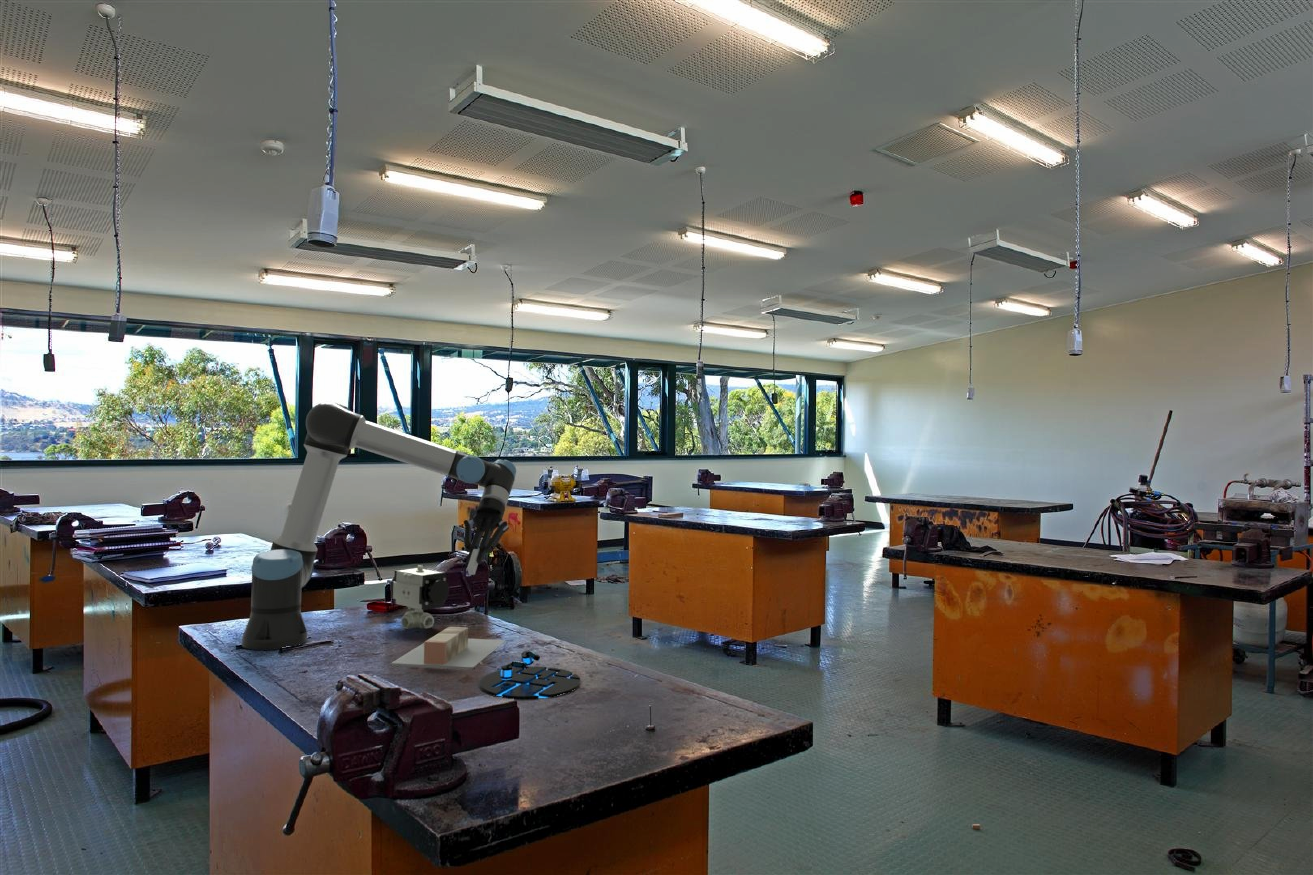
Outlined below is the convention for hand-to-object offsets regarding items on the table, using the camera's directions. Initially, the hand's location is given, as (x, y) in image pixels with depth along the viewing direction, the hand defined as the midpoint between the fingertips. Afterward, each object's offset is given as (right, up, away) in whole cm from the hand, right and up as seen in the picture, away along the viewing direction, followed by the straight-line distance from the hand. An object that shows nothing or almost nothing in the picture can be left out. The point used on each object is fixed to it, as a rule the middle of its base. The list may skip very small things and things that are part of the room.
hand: (470, 571), depth 203 cm
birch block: (-1, -16, -7) cm, 17 cm away
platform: (+22, -19, -35) cm, 45 cm away
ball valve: (-19, -19, +15) cm, 31 cm away
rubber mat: (-2, -19, -11) cm, 22 cm away
